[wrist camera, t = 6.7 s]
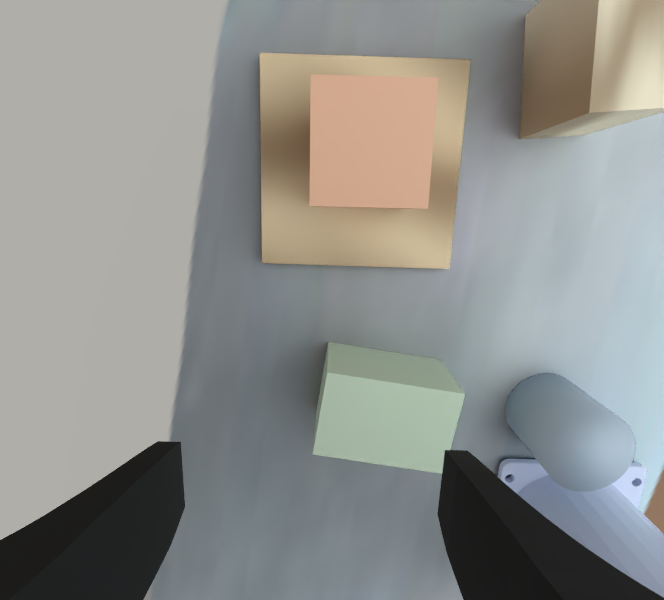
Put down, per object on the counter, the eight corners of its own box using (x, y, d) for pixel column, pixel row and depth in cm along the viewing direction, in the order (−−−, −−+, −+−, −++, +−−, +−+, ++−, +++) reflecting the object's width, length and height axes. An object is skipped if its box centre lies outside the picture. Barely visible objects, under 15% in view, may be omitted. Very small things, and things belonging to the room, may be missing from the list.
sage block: (423, 425, 21) (443, 473, 17) (316, 409, 21) (312, 454, 17) (440, 358, 20) (465, 394, 16) (328, 340, 20) (327, 372, 16)
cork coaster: (445, 267, 19) (449, 268, 18) (264, 261, 19) (261, 263, 18) (466, 64, 17) (470, 59, 16) (262, 58, 17) (259, 52, 16)
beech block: (519, 139, 18) (584, 135, 18) (589, 112, 13) (680, 106, 13) (524, 16, 17) (595, 11, 17) (604, -65, 12) (704, -72, 12)
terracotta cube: (402, 208, 18) (428, 208, 13) (316, 206, 18) (309, 205, 13) (408, 115, 17) (438, 77, 12) (317, 113, 17) (310, 74, 12)
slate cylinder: (572, 441, 21) (625, 493, 17) (500, 438, 21) (537, 490, 17) (585, 374, 20) (644, 413, 16) (510, 371, 20) (551, 410, 16)
